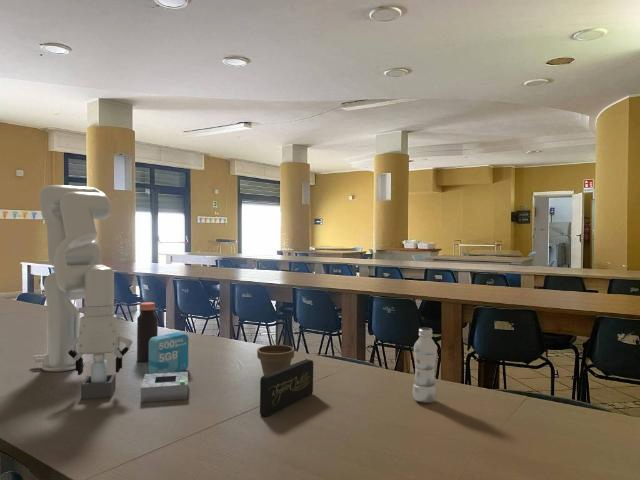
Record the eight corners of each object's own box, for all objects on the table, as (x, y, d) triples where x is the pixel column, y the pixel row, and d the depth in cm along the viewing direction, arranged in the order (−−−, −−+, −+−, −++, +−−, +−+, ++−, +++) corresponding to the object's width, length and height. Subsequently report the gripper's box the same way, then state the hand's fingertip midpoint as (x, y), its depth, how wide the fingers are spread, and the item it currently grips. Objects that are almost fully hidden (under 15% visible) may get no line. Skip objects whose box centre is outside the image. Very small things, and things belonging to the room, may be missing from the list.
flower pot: (248, 380, 145) (249, 348, 145) (276, 373, 154) (276, 342, 153) (273, 390, 138) (274, 355, 137) (301, 381, 146) (302, 348, 146)
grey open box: (80, 399, 128) (80, 384, 128) (86, 389, 135) (86, 375, 135) (111, 396, 130) (111, 382, 130) (115, 387, 137) (115, 374, 137)
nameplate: (265, 418, 117) (266, 378, 117) (259, 416, 118) (260, 376, 118) (312, 394, 135) (313, 359, 135) (307, 393, 136) (308, 358, 136)
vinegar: (160, 357, 170) (161, 302, 169) (152, 362, 163) (152, 305, 163) (142, 356, 171) (143, 301, 170) (133, 361, 164) (133, 304, 163)
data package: (156, 378, 146) (156, 339, 146) (148, 375, 149) (148, 337, 149) (188, 369, 156) (188, 333, 156) (180, 367, 159) (180, 331, 158)
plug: (89, 396, 130) (89, 353, 130) (92, 391, 134) (92, 349, 134) (105, 395, 131) (105, 352, 131) (107, 390, 135) (108, 348, 135)
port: (140, 402, 126) (140, 385, 126) (144, 387, 138) (145, 372, 137) (187, 399, 129) (187, 382, 129) (187, 384, 141) (187, 369, 141)
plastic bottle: (437, 398, 132) (438, 327, 132) (434, 407, 126) (436, 332, 126) (414, 395, 135) (415, 325, 134) (410, 403, 128) (412, 330, 128)
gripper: (61, 314, 126) (61, 378, 126) (130, 312, 131) (130, 374, 131) (68, 310, 133) (68, 370, 133) (134, 308, 138) (133, 366, 138)
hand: (99, 372), depth 132 cm, fingers open, 9 cm apart
